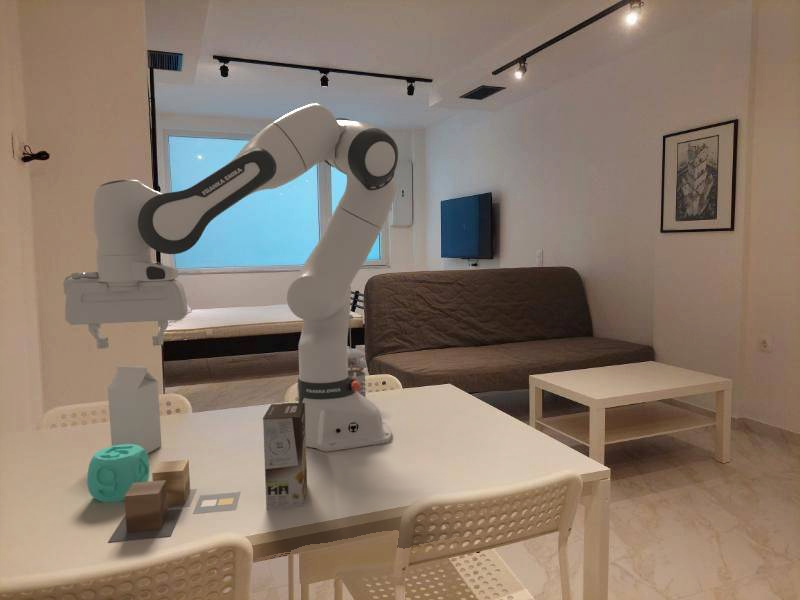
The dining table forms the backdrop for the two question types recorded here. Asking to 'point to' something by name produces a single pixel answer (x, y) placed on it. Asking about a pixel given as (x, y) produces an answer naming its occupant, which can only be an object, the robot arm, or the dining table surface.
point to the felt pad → (165, 531)
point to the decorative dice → (117, 471)
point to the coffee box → (285, 455)
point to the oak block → (174, 480)
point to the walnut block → (146, 506)
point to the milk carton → (134, 408)
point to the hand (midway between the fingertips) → (130, 346)
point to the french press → (358, 369)
